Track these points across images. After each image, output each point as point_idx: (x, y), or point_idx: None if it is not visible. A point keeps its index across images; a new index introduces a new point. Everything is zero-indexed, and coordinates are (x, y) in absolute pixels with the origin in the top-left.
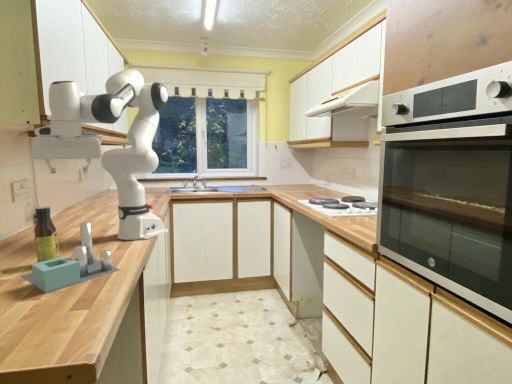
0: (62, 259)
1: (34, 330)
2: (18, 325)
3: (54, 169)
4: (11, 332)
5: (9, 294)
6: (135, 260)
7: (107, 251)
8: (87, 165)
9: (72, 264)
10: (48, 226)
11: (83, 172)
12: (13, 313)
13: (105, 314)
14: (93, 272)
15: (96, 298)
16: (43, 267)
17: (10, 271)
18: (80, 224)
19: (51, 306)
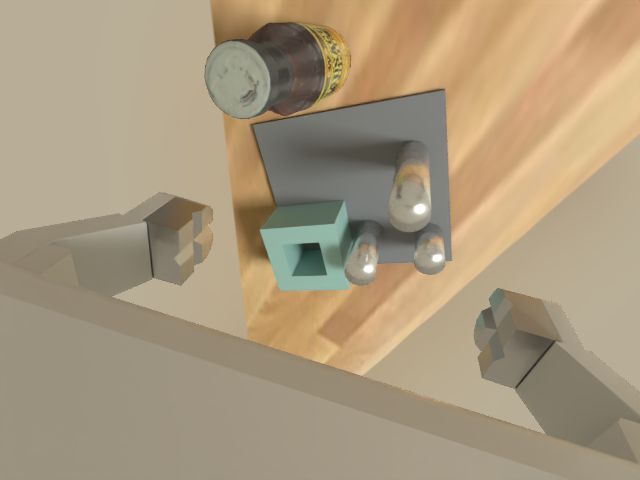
0: (322, 246)
1: (275, 344)
2: (259, 322)
3: (183, 273)
4: (253, 331)
5: (240, 211)
6: (534, 211)
7: (433, 268)
8: (546, 422)
9: (334, 289)
10: (287, 108)
11: (478, 322)
12: (251, 287)
13: (352, 371)
14: (396, 230)
15: (359, 328)
16: (280, 267)
17: (227, 37)
18: (388, 216)
19: (298, 304)
